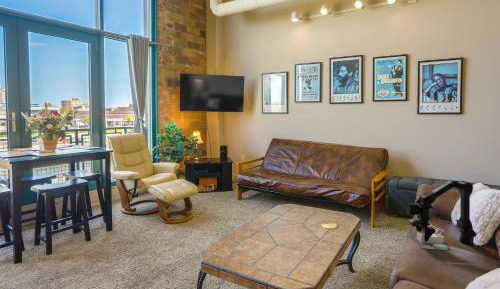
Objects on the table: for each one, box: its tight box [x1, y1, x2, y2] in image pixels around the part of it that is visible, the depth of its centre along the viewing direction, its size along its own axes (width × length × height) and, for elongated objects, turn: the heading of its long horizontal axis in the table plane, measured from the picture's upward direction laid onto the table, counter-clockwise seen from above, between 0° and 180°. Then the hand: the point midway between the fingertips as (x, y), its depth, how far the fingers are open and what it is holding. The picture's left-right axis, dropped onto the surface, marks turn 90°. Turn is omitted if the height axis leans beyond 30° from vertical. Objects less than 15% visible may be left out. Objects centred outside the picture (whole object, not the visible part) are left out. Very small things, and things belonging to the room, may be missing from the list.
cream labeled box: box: [428, 233, 445, 244], centre depth 203 cm, size 9×6×4 cm, turn 88°
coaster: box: [432, 243, 450, 251], centre depth 195 cm, size 8×8×1 cm
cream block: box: [416, 230, 428, 243], centre depth 204 cm, size 4×6×5 cm, turn 178°
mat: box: [408, 235, 453, 252], centre depth 201 cm, size 17×21×1 cm
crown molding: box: [428, 224, 445, 235], centre depth 225 cm, size 24×1×20 cm
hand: (422, 238), depth 204 cm, fingers open, 9 cm apart
